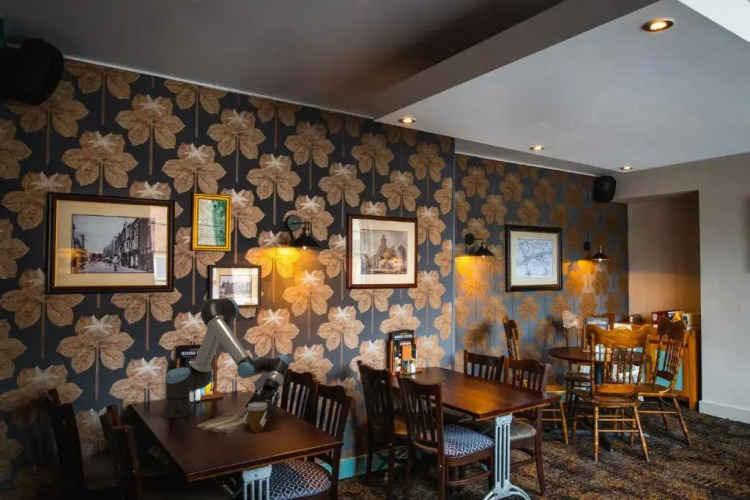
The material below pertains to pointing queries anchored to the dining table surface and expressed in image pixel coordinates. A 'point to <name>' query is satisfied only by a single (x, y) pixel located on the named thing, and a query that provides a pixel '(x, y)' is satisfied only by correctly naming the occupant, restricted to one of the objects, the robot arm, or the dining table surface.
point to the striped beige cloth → (224, 423)
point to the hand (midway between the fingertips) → (253, 423)
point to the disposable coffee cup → (256, 415)
